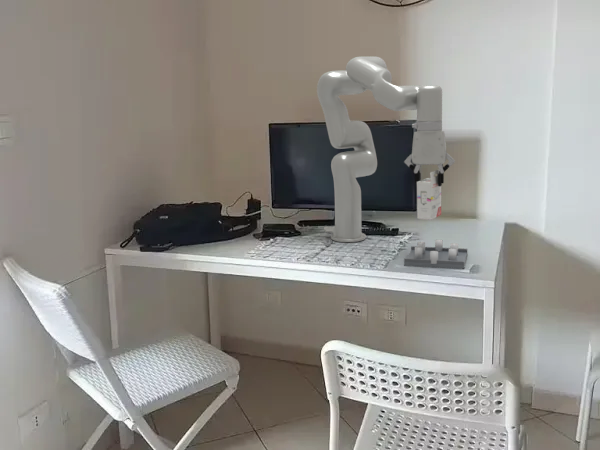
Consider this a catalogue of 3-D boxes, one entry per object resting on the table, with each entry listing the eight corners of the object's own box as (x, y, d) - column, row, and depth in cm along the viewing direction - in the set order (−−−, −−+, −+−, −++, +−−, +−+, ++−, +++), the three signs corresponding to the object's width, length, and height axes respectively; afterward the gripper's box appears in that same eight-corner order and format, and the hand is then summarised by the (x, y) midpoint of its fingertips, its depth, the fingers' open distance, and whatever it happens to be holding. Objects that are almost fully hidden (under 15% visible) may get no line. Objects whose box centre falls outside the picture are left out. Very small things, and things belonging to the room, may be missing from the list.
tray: (404, 266, 204) (404, 251, 203) (411, 252, 220) (411, 238, 219) (463, 269, 199) (464, 254, 198) (467, 254, 214) (467, 240, 213)
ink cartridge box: (426, 213, 212) (426, 168, 209) (441, 215, 209) (441, 168, 206) (416, 218, 205) (416, 171, 202) (431, 220, 202) (431, 172, 199)
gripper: (399, 128, 200) (399, 187, 204) (457, 127, 195) (456, 187, 199) (403, 126, 207) (403, 183, 211) (459, 125, 202) (458, 184, 206)
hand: (429, 185), depth 205 cm, fingers closed on ink cartridge box, 5 cm apart
